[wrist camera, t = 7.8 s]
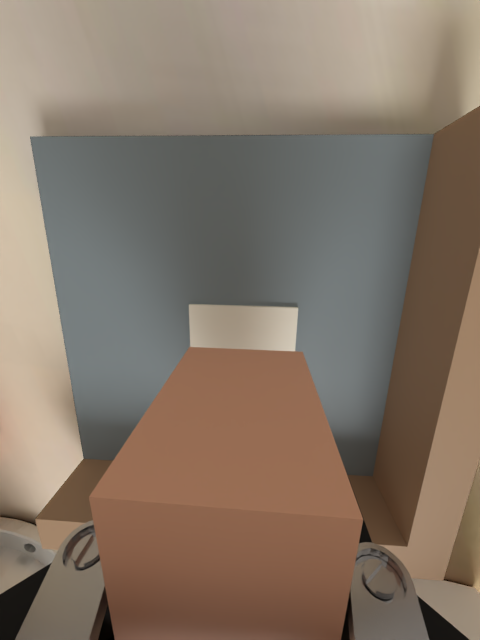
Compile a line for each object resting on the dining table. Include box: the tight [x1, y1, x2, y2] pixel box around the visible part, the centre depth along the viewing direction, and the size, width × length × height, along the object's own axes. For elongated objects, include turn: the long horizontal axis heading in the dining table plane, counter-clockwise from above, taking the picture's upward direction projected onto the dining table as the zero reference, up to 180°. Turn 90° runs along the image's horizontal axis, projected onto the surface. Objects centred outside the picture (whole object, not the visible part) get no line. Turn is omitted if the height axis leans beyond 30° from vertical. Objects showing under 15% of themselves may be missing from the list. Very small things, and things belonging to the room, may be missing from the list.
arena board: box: [30, 106, 480, 581], centre depth 14 cm, size 20×20×5 cm
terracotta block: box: [89, 347, 363, 640], centre depth 8 cm, size 8×4×6 cm, turn 179°
